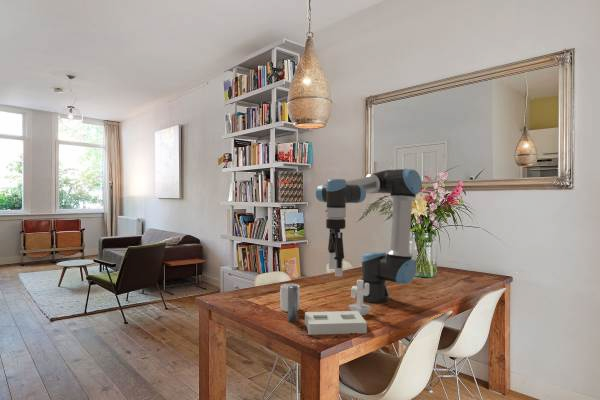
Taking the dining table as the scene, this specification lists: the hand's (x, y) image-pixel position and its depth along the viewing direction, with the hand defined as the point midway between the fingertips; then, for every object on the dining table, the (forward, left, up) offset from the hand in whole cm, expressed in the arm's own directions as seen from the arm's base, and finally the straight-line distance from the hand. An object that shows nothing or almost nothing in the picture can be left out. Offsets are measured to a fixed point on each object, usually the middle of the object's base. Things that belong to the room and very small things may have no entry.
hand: (335, 272), depth 147 cm
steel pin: (+16, -9, -22) cm, 28 cm away
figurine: (-14, -15, -22) cm, 30 cm away
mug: (+17, -25, -22) cm, 37 cm away
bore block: (0, 0, -22) cm, 22 cm away
